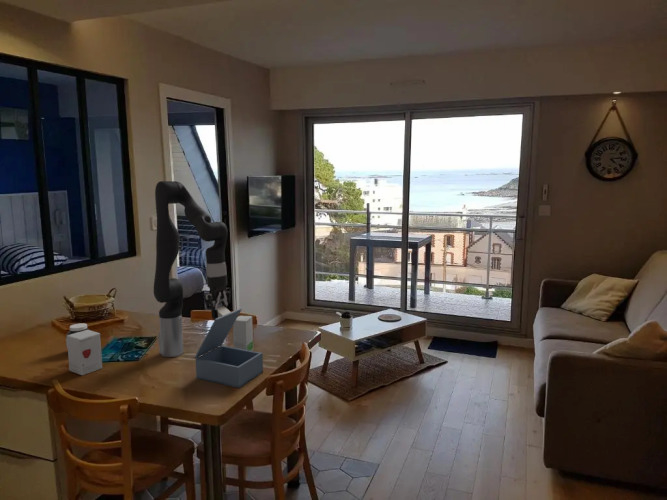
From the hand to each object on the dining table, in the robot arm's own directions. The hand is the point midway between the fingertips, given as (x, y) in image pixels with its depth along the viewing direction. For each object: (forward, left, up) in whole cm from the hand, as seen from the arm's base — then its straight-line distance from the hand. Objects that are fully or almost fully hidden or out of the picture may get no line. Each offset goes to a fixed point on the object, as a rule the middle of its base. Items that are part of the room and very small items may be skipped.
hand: (219, 316), depth 184 cm
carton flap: (-1, 0, -7) cm, 7 cm away
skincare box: (-6, +23, -24) cm, 33 cm away
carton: (+4, 0, -23) cm, 24 cm away
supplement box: (-52, -20, -24) cm, 60 cm away
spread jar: (-71, -8, -24) cm, 75 cm away
